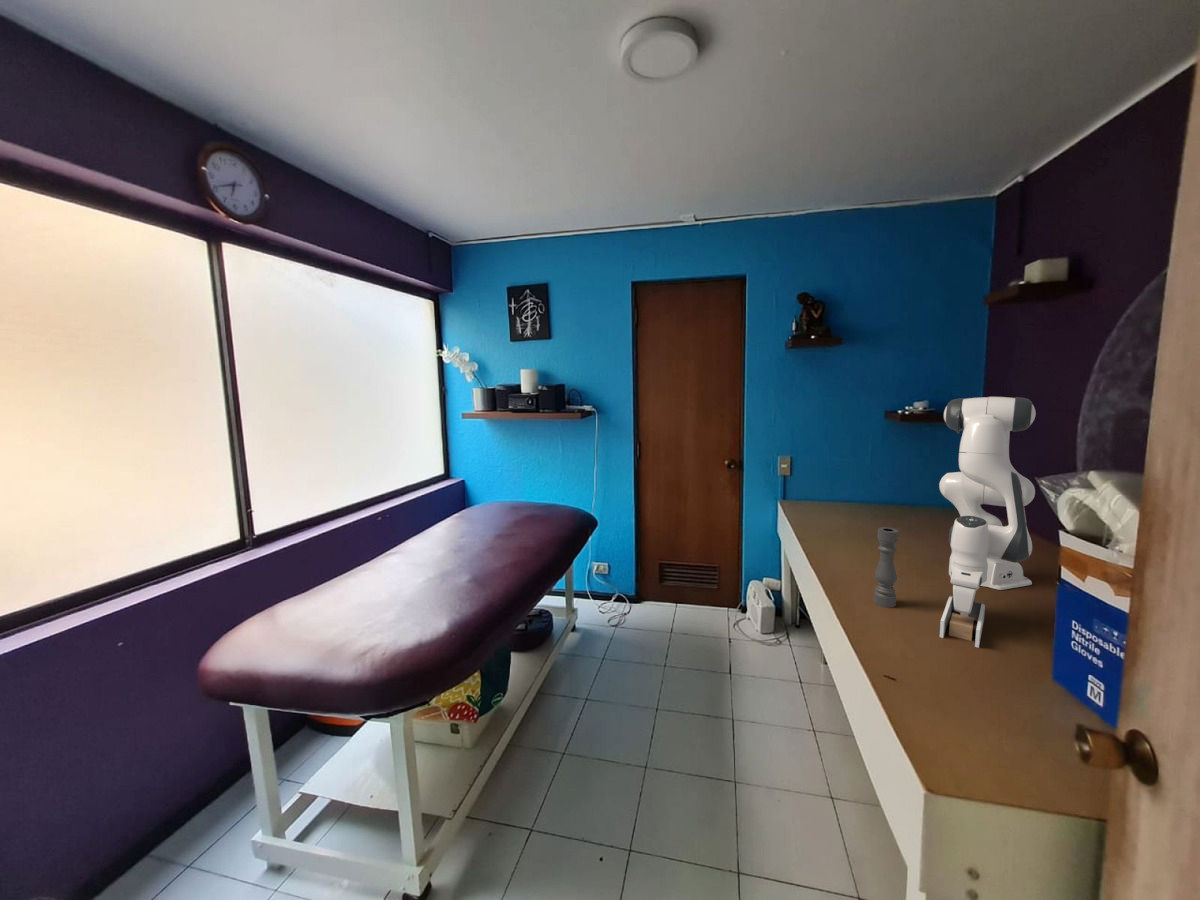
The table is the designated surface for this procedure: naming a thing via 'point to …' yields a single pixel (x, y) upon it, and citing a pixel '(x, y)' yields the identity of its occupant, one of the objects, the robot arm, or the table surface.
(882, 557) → the candle holder
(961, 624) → the light brown block
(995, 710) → the table surface
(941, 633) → the white channel
